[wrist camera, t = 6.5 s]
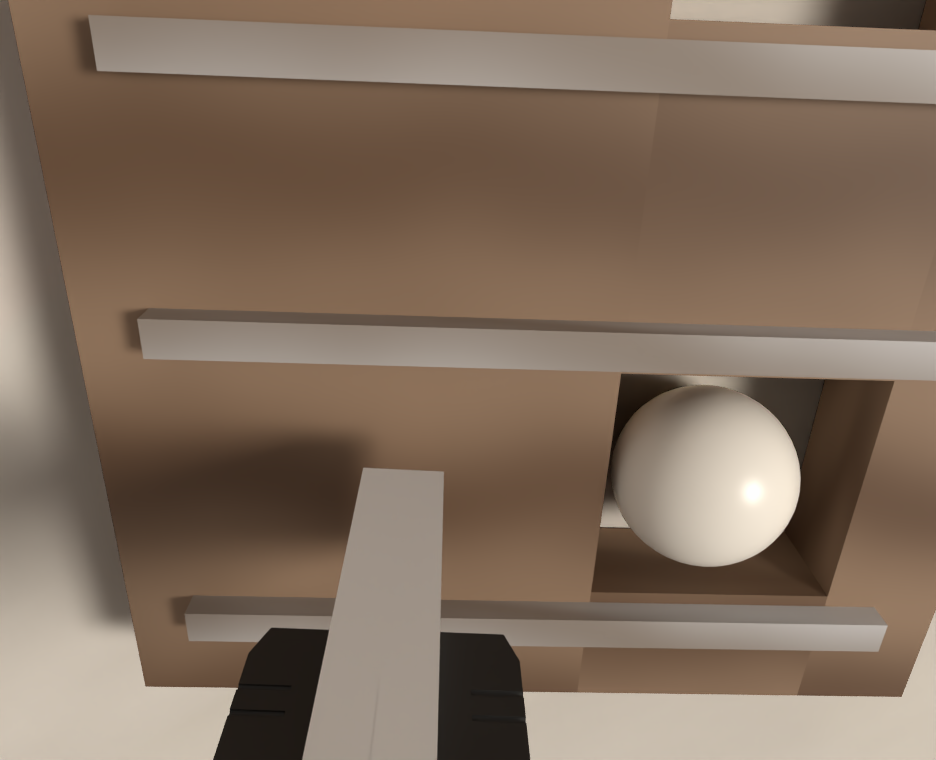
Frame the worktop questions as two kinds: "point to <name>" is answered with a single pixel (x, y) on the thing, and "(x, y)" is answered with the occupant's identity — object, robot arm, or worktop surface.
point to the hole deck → (495, 314)
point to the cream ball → (705, 475)
